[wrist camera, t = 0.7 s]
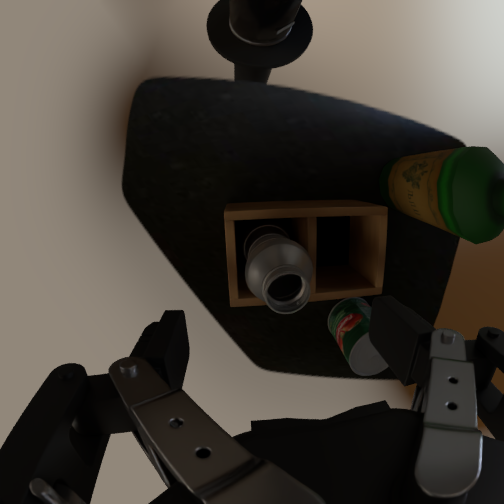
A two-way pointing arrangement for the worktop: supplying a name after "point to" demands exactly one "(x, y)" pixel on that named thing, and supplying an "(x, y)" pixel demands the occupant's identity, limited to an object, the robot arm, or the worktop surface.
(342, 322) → the canned tomato
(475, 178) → the bottle
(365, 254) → the bottle rack
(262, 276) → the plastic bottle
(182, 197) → the worktop surface
